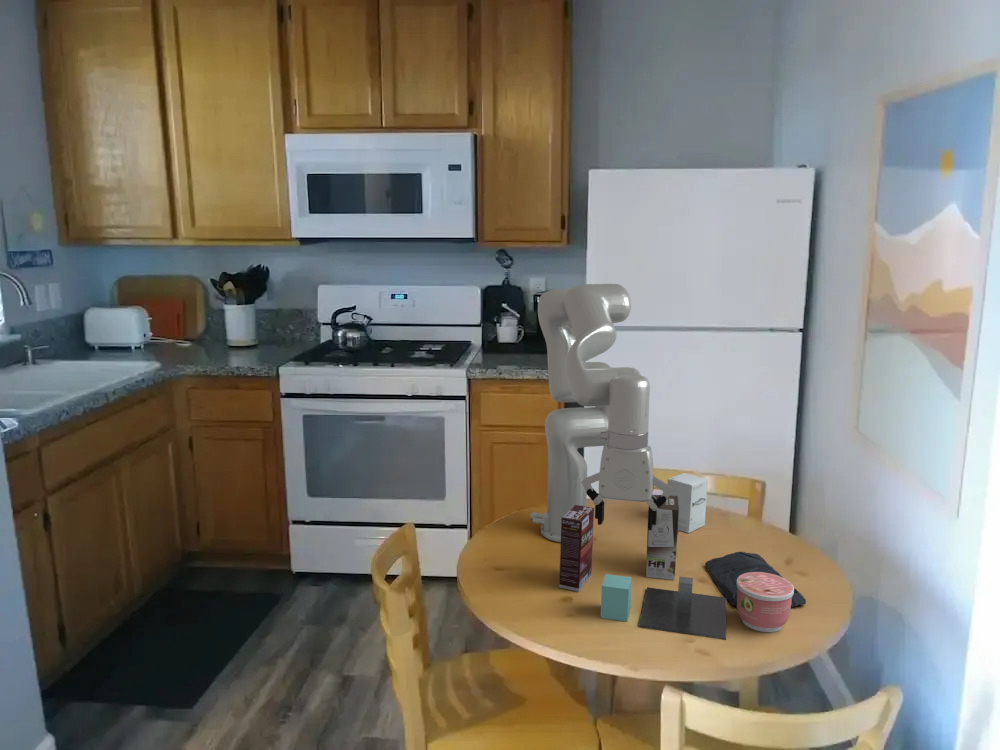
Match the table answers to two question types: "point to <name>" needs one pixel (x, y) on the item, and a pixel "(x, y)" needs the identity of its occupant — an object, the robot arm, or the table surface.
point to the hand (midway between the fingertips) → (625, 525)
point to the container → (764, 600)
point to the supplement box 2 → (690, 500)
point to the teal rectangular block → (616, 597)
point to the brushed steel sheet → (684, 611)
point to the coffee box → (663, 541)
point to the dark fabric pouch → (736, 565)
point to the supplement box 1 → (576, 548)
